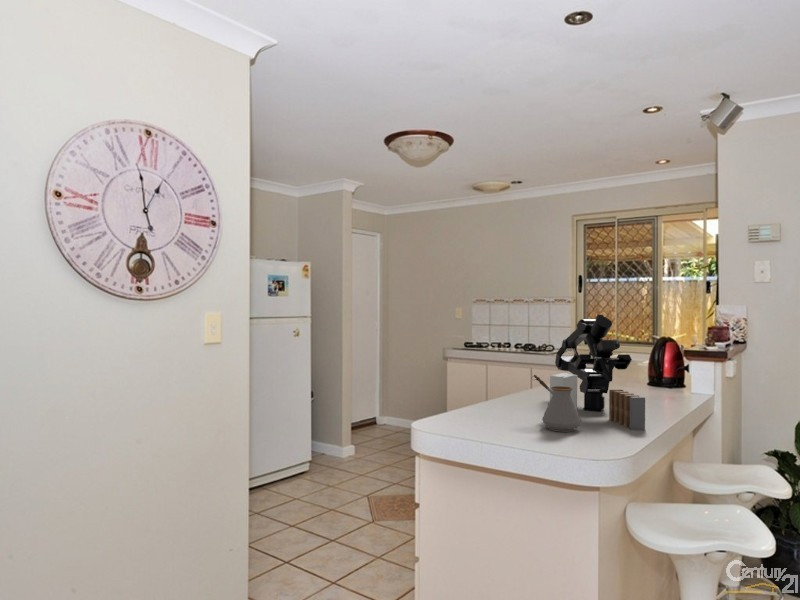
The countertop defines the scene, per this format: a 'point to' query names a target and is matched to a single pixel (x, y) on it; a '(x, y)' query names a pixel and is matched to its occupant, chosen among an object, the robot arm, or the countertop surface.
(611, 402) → the domino
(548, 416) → the coffee pot
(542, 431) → the countertop surface
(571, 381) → the skincare box
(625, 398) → the domino
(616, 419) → the domino
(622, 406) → the domino
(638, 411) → the domino
